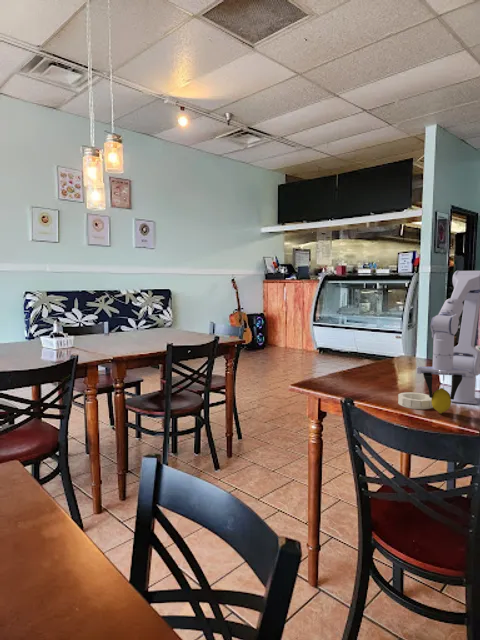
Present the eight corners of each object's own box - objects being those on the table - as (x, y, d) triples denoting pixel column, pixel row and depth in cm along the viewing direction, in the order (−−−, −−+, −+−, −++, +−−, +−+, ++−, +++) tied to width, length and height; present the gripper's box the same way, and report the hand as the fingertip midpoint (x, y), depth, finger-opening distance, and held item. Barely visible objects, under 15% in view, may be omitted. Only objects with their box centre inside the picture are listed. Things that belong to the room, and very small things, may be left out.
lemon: (426, 412, 138) (428, 386, 138) (439, 410, 141) (440, 385, 140) (441, 416, 133) (442, 390, 133) (454, 414, 135) (455, 389, 135)
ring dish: (398, 399, 154) (398, 391, 154) (432, 402, 150) (432, 394, 150) (397, 407, 144) (398, 398, 143) (434, 410, 140) (435, 402, 140)
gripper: (418, 354, 134) (416, 398, 135) (471, 357, 129) (469, 403, 130) (417, 351, 141) (415, 393, 142) (468, 354, 136) (466, 397, 137)
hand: (441, 397), depth 137 cm, fingers closed on lemon, 5 cm apart
